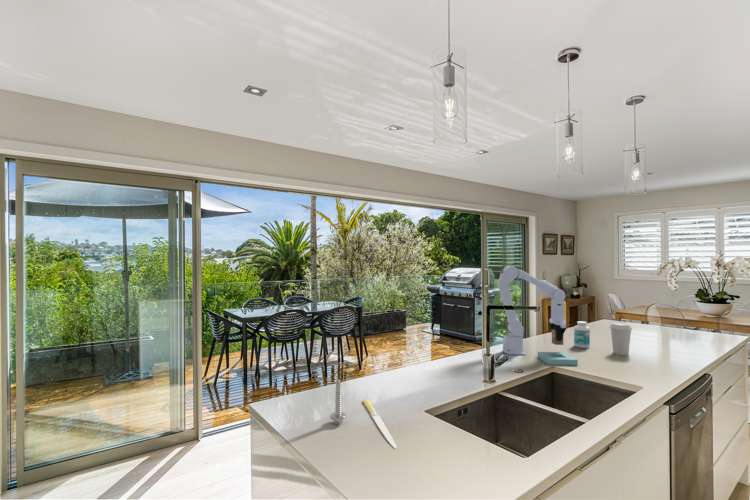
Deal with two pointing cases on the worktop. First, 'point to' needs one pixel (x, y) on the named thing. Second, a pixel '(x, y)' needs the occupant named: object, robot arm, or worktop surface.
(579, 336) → the pill bottle
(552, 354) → the socket plate
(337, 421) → the screw
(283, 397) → the worktop surface
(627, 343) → the coffee cup
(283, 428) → the worktop surface
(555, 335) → the walnut peg
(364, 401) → the knife
